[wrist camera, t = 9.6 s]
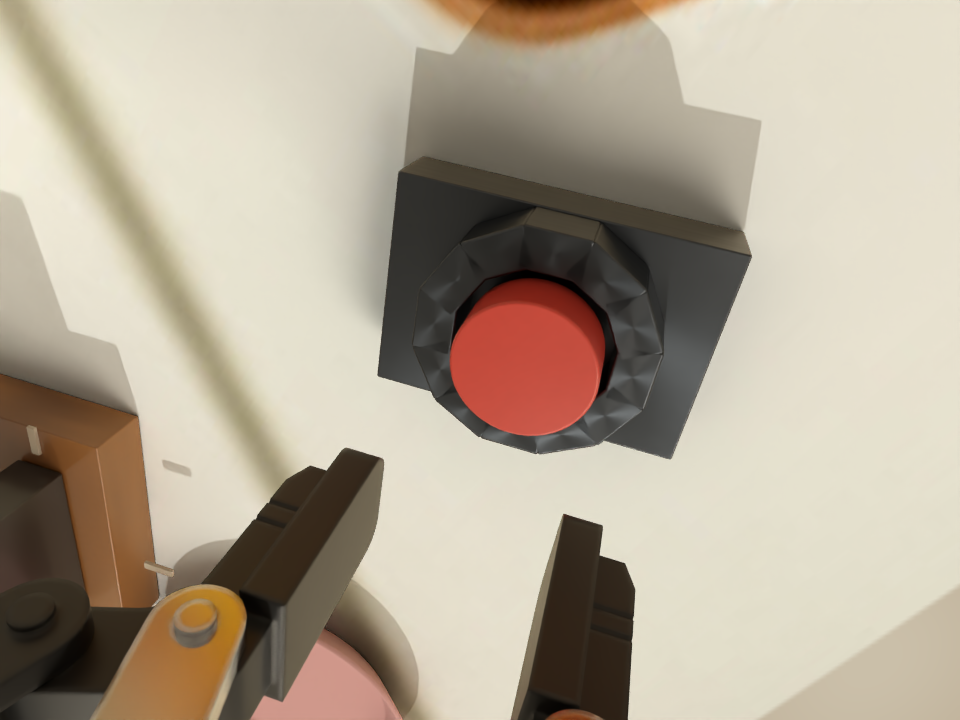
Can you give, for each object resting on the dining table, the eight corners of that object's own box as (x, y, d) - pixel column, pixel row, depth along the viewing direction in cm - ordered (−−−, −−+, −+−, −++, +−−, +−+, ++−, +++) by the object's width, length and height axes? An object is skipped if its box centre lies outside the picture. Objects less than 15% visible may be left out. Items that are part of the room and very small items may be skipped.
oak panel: (-2, 542, 37) (-46, 578, 34) (-54, 354, 31) (-113, 382, 28) (212, 617, 35) (180, 660, 33) (201, 433, 29) (161, 470, 27)
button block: (399, 347, 24) (355, 404, 21) (422, 155, 21) (374, 185, 17) (671, 423, 23) (671, 496, 20) (744, 231, 19) (760, 280, 16)
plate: (474, 746, 34) (464, 785, 33) (290, 780, 41) (273, 813, 39) (303, 550, 31) (282, 582, 29) (129, 620, 37) (103, 650, 35)
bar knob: (17, 458, 29) (-117, 551, 24) (62, 472, 28) (-65, 570, 23) (48, 584, 33) (-62, 686, 28) (87, 598, 32) (-17, 704, 27)
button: (456, 383, 20) (439, 413, 19) (477, 261, 18) (460, 284, 17) (585, 419, 20) (578, 454, 18) (622, 297, 18) (618, 325, 16)
